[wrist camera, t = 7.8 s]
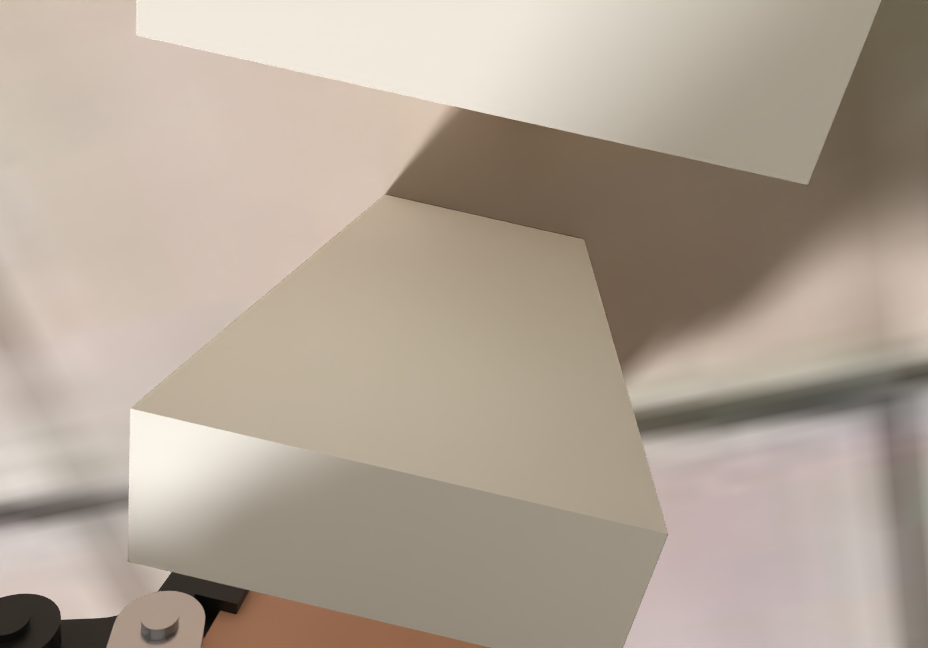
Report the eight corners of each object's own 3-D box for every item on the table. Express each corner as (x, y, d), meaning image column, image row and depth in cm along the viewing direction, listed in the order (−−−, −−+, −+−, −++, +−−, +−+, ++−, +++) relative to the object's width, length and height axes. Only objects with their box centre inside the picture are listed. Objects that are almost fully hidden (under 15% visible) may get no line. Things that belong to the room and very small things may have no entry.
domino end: (347, 390, 17) (76, 858, 7) (535, 433, 17) (537, 971, 7) (339, 448, 18) (79, 952, 8) (520, 490, 18) (499, 1056, 8)
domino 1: (420, -31, 14) (140, -271, 4) (646, 18, 14) (922, -103, 4) (406, 56, 15) (135, 34, 5) (622, 104, 15) (808, 184, 5)
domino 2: (384, 194, 16) (130, 408, 6) (584, 239, 16) (667, 534, 6) (373, 263, 17) (128, 561, 7) (565, 307, 17) (611, 677, 7)
